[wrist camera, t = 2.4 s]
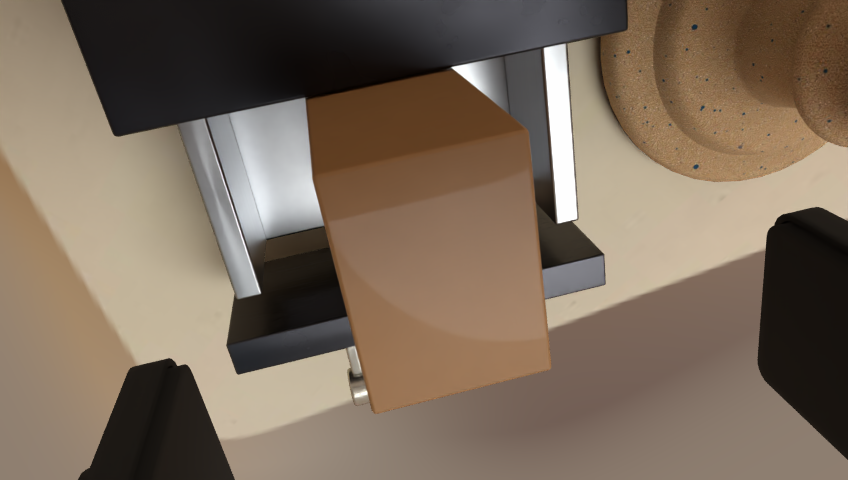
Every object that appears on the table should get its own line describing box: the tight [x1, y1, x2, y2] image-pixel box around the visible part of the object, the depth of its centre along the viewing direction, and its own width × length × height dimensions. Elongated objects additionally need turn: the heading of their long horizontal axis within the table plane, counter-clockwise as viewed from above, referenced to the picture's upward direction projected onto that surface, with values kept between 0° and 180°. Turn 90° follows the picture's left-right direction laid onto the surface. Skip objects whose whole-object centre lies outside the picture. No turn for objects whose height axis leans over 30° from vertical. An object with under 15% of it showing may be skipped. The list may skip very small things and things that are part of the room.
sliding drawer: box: [177, 44, 606, 406], centre depth 22 cm, size 13×12×5 cm
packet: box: [305, 67, 551, 414], centre depth 18 cm, size 4×6×11 cm
